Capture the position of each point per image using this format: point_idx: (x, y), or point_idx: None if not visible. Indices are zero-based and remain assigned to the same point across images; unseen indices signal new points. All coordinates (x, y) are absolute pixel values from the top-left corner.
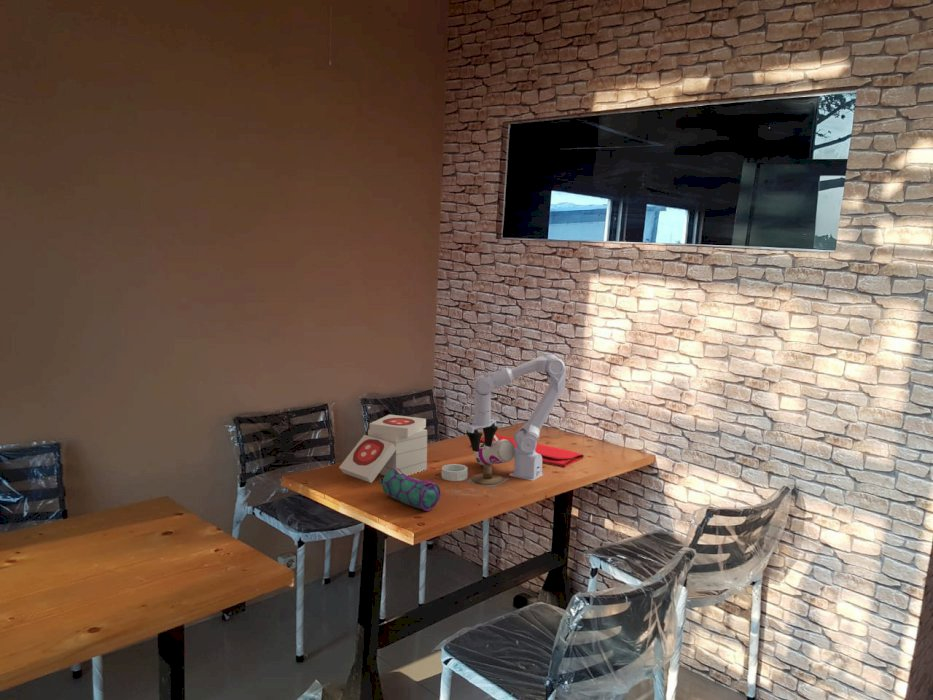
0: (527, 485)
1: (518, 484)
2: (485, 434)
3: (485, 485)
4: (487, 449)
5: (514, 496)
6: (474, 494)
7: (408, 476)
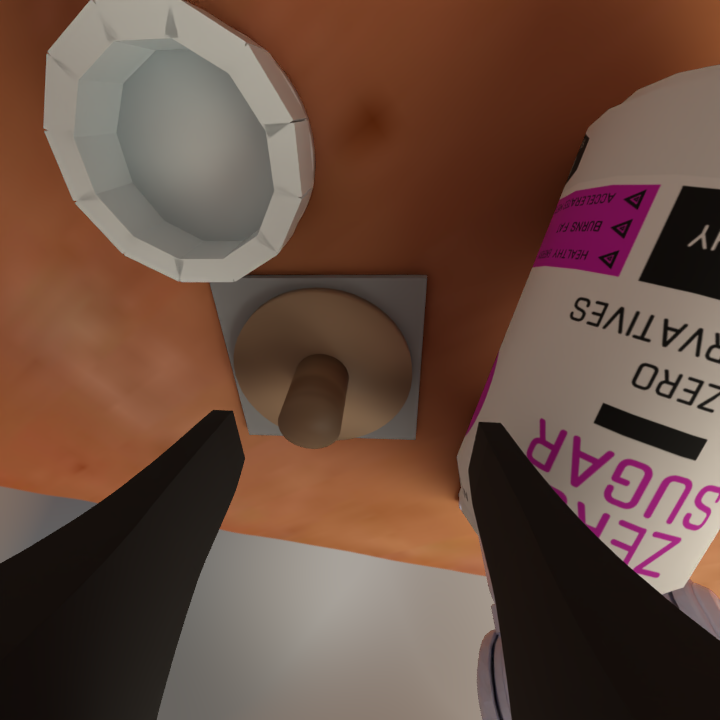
0: (400, 506)
1: (387, 481)
2: (533, 565)
3: (247, 401)
4: (542, 368)
5: (255, 515)
6: (131, 408)
7: None
